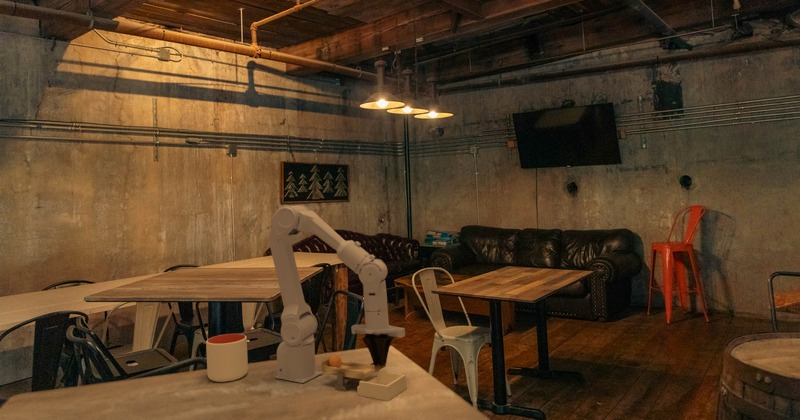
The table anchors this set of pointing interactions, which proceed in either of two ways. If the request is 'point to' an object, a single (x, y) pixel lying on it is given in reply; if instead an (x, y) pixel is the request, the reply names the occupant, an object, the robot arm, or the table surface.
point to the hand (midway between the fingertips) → (379, 364)
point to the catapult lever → (351, 369)
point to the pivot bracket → (345, 382)
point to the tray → (382, 386)
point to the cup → (227, 357)
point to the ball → (335, 361)
